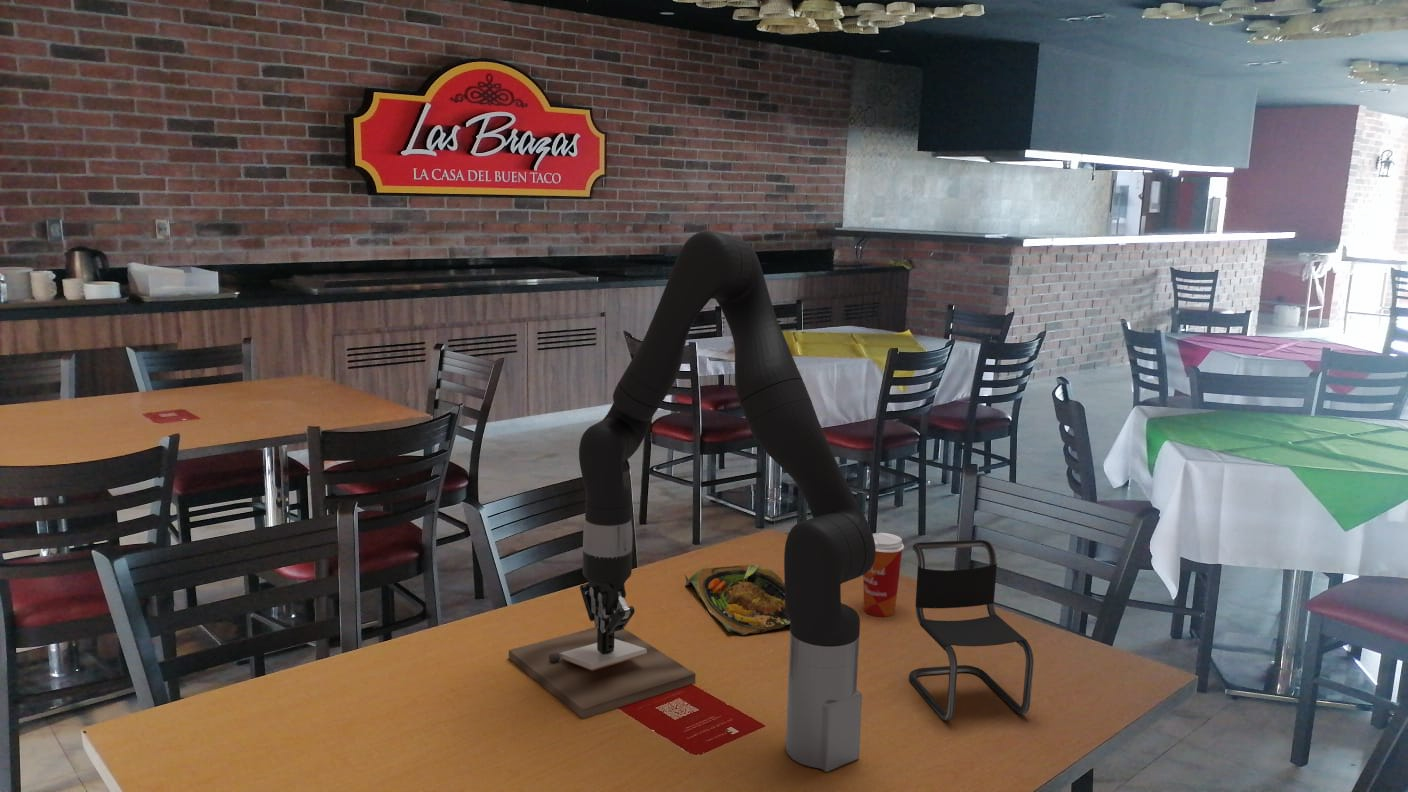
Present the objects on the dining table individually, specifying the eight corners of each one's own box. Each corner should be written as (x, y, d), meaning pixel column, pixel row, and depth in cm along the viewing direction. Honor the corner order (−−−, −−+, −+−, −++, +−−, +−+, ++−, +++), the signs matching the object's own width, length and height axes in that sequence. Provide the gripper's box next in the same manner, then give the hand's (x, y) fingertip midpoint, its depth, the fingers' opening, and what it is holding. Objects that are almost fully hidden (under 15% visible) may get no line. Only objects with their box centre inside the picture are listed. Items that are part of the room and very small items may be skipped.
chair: (977, 668, 164) (986, 538, 160) (1030, 721, 147) (1042, 577, 143) (901, 673, 162) (909, 542, 158) (947, 728, 145) (956, 582, 141)
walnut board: (695, 682, 157) (695, 665, 157) (582, 719, 145) (582, 700, 145) (614, 630, 176) (614, 614, 176) (508, 658, 164) (508, 641, 164)
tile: (613, 638, 166) (614, 644, 166) (559, 653, 160) (560, 659, 161) (646, 648, 158) (647, 654, 158) (590, 664, 152) (591, 671, 152)
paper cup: (850, 606, 189) (853, 534, 186) (884, 600, 192) (888, 529, 189) (874, 622, 182) (877, 547, 179) (909, 615, 185) (913, 542, 182)
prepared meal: (825, 608, 179) (730, 618, 173) (825, 627, 180) (730, 638, 174) (765, 562, 205) (681, 569, 199) (765, 578, 206) (680, 586, 200)
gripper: (652, 555, 152) (648, 662, 156) (606, 530, 162) (604, 630, 166) (609, 564, 148) (606, 674, 151) (565, 538, 158) (563, 641, 161)
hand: (605, 651), depth 158 cm, fingers closed
